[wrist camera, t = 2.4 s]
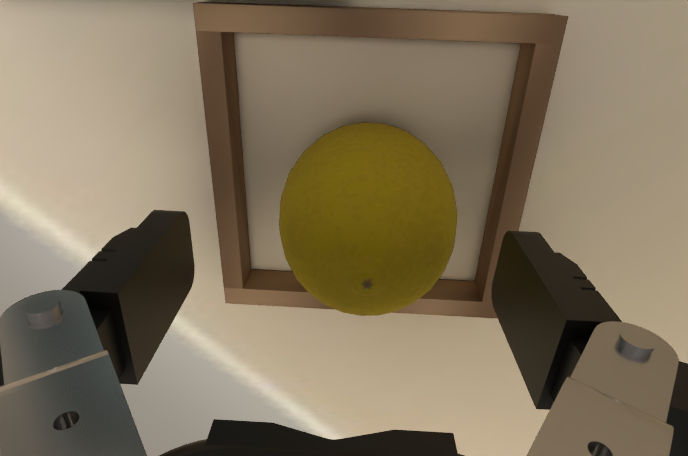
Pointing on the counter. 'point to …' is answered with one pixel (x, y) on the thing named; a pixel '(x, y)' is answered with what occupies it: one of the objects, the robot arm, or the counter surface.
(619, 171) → the counter surface
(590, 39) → the counter surface
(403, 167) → the lemon
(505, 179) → the tray
